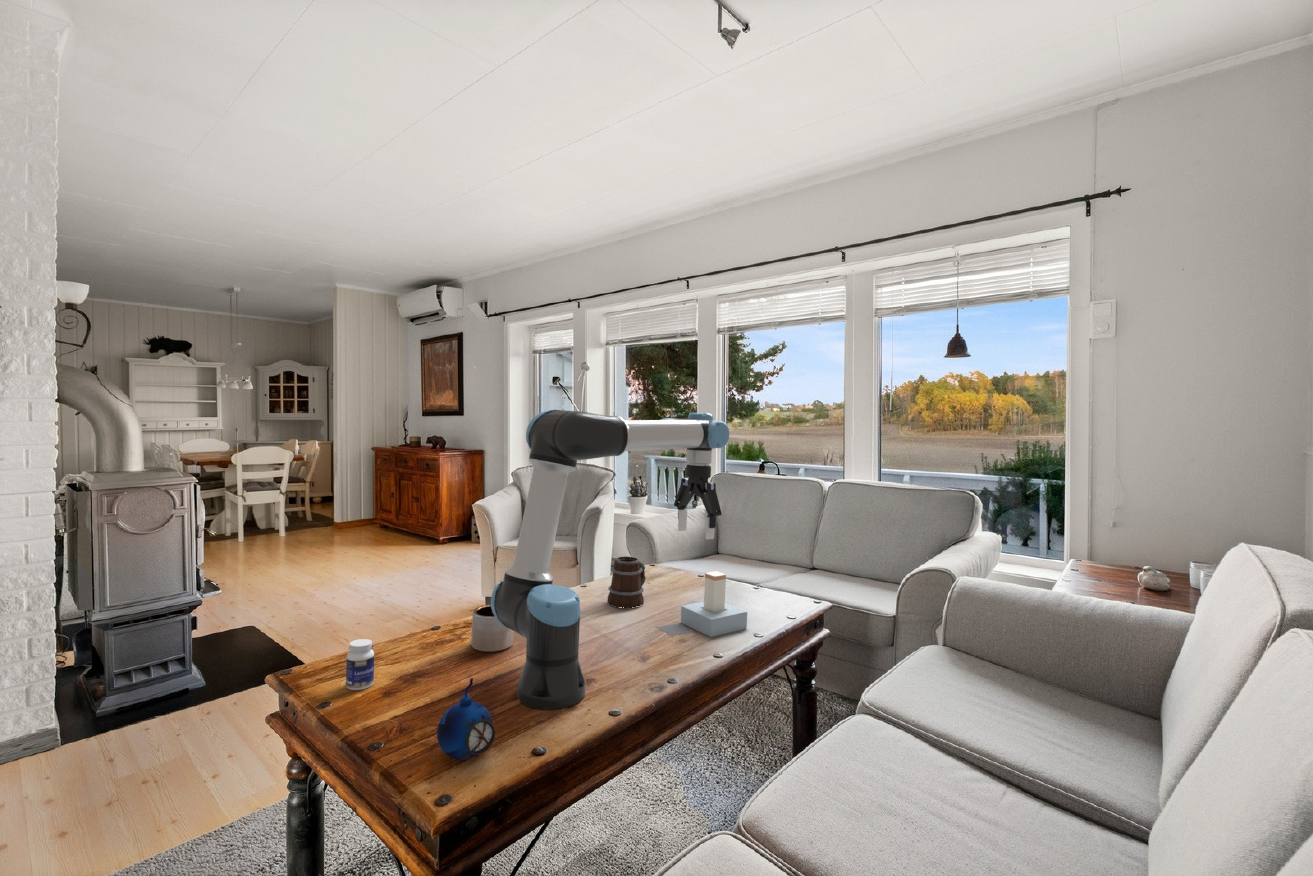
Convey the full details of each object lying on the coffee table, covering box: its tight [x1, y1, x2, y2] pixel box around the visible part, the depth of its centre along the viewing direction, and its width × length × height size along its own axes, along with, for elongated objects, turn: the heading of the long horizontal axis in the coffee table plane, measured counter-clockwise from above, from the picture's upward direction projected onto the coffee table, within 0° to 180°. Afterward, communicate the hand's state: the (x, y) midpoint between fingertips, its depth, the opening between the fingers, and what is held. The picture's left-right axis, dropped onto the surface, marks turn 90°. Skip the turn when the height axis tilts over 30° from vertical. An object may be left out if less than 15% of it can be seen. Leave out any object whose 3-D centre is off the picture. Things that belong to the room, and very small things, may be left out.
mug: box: [607, 556, 647, 609], centre depth 208 cm, size 16×12×15 cm
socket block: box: [680, 601, 748, 638], centre depth 185 cm, size 14×14×6 cm
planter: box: [470, 604, 514, 653], centre depth 166 cm, size 11×11×10 cm
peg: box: [703, 570, 727, 613], centre depth 185 cm, size 4×4×14 cm
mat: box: [656, 622, 695, 637], centre depth 181 cm, size 8×8×1 cm
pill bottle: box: [345, 638, 375, 691], centre depth 140 cm, size 6×6×10 cm
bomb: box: [436, 677, 497, 761], centre depth 113 cm, size 10×11×15 cm
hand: (695, 534), depth 186 cm, fingers open, 13 cm apart
